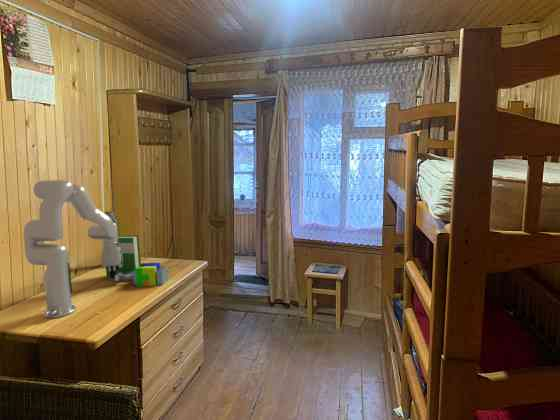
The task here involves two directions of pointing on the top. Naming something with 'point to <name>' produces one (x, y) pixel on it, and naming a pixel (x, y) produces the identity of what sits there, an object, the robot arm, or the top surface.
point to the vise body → (161, 274)
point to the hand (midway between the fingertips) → (113, 277)
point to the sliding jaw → (133, 275)
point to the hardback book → (128, 253)
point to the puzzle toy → (147, 274)
